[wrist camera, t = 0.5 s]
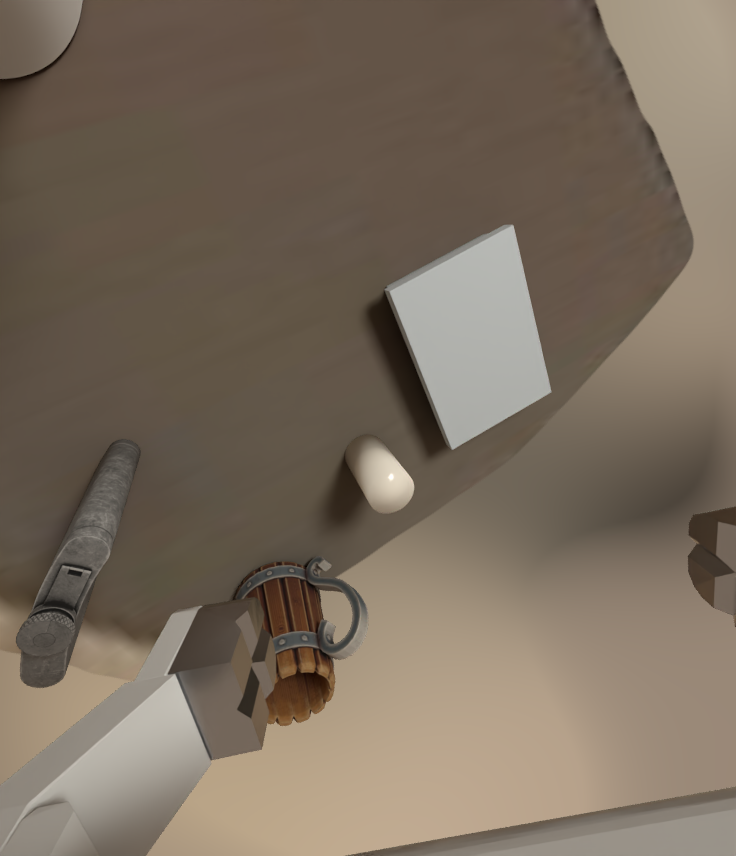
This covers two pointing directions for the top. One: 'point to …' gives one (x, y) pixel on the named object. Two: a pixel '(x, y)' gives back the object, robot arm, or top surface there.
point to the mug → (302, 634)
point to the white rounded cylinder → (379, 474)
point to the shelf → (472, 335)
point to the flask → (76, 570)
